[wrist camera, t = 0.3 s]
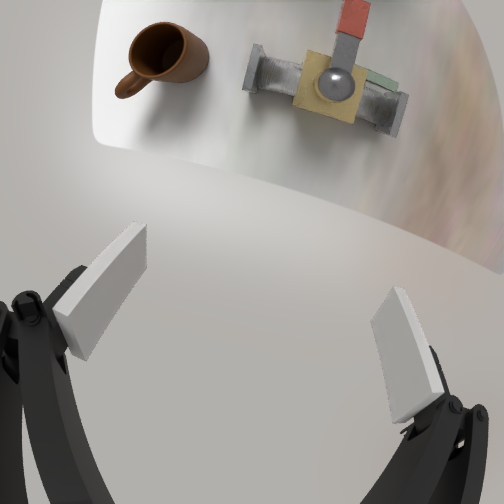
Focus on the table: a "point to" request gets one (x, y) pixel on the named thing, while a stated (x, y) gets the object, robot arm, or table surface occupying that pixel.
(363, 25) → the lever
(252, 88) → the valve pipe
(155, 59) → the mug
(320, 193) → the table surface
